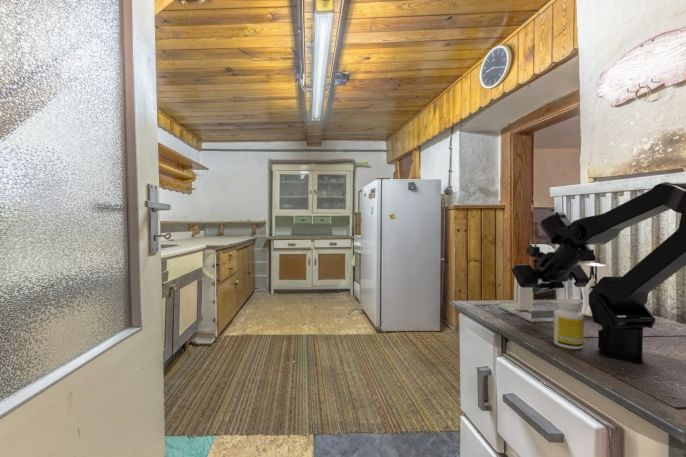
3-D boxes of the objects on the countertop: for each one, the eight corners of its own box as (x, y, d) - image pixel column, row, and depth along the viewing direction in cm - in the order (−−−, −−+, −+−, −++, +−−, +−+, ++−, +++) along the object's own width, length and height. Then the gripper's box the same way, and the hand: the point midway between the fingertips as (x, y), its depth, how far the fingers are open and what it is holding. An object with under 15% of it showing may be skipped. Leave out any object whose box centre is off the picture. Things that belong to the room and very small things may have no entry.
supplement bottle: (589, 350, 69) (590, 304, 69) (563, 349, 69) (564, 304, 69) (571, 340, 75) (572, 298, 74) (548, 340, 75) (548, 298, 74)
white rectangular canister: (532, 309, 96) (533, 273, 96) (519, 310, 96) (520, 273, 95) (526, 307, 99) (526, 272, 99) (513, 307, 99) (514, 272, 98)
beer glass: (585, 317, 93) (586, 265, 93) (575, 311, 100) (576, 262, 100) (614, 319, 91) (615, 266, 91) (602, 313, 98) (603, 263, 98)
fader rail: (555, 321, 89) (555, 310, 89) (531, 321, 89) (531, 311, 88) (519, 306, 105) (519, 297, 105) (498, 307, 104) (498, 297, 104)
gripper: (581, 234, 88) (550, 269, 99) (516, 234, 86) (492, 269, 97) (607, 268, 80) (570, 301, 91) (536, 268, 78) (507, 302, 89)
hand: (534, 292), depth 93 cm, fingers closed
